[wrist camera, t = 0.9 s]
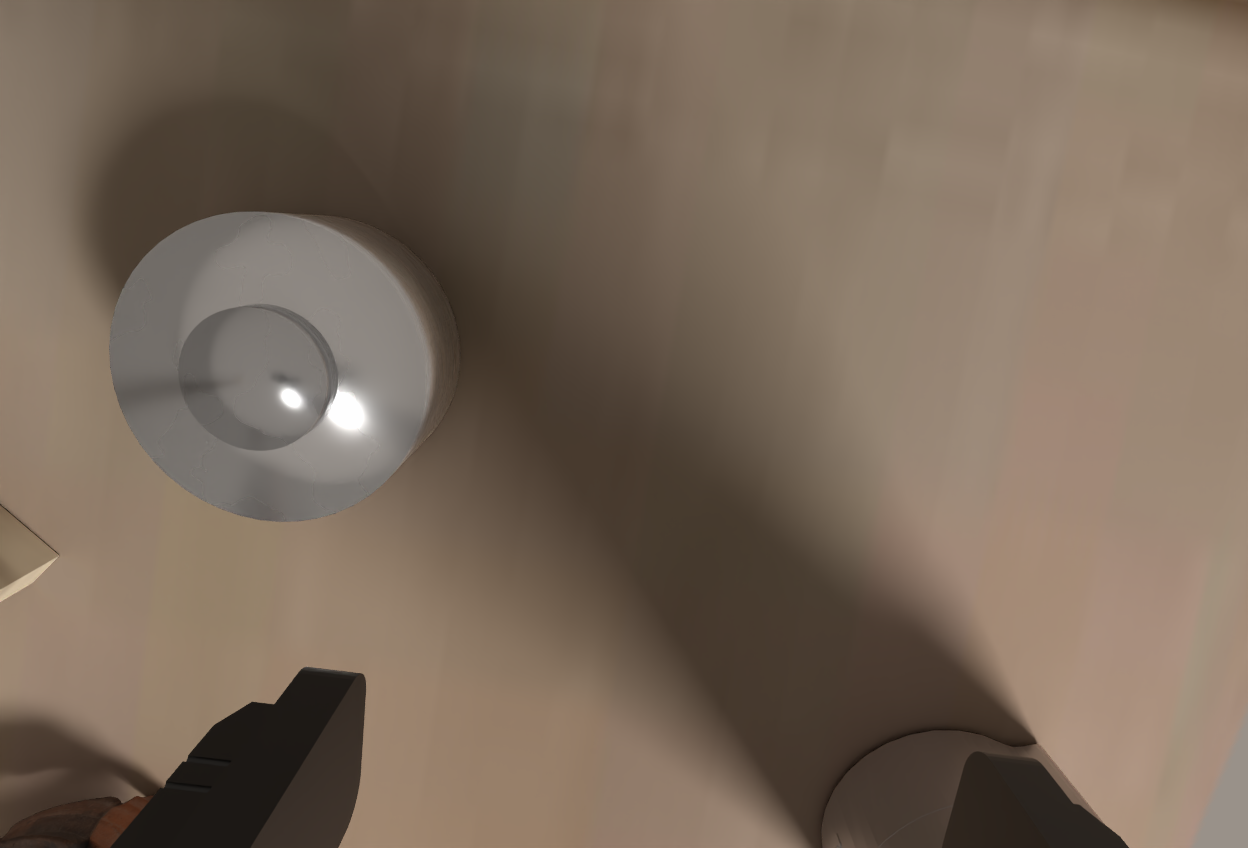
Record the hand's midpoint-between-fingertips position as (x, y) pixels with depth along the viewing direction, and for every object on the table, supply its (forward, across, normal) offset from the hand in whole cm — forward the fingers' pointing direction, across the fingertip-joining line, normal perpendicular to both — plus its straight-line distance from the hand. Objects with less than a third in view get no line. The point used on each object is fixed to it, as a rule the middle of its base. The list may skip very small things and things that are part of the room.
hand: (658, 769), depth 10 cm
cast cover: (+18, +11, -2) cm, 21 cm away
